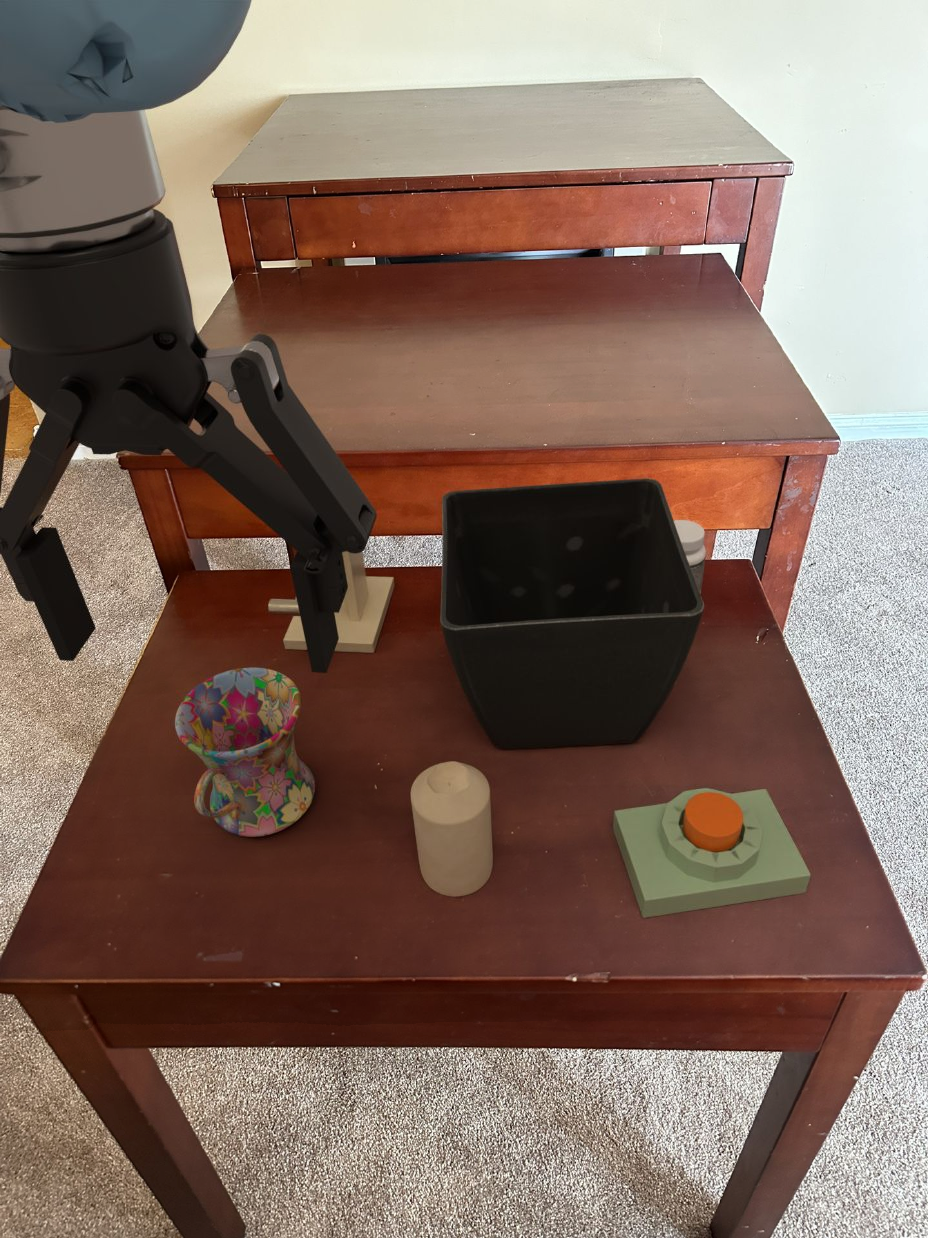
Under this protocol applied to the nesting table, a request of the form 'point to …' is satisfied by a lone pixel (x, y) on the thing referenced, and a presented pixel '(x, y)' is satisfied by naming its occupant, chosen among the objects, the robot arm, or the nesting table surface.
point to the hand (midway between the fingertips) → (199, 650)
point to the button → (712, 821)
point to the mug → (247, 750)
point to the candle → (453, 828)
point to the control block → (707, 857)
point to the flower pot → (566, 609)
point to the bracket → (353, 610)
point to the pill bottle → (693, 547)
